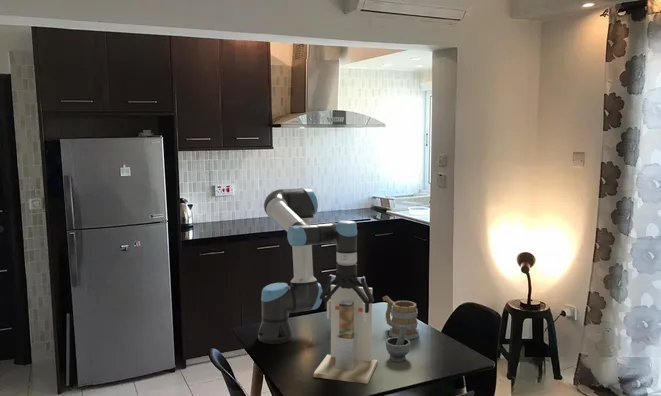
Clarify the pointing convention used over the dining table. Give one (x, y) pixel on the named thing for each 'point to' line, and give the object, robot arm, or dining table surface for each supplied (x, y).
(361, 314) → the board
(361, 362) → the birch base plate
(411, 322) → the tankard
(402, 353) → the mortar and pestle
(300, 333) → the dining table surface
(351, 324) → the oak post
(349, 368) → the metal sleeve
